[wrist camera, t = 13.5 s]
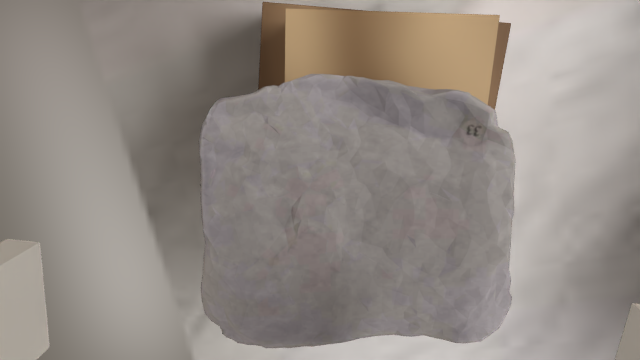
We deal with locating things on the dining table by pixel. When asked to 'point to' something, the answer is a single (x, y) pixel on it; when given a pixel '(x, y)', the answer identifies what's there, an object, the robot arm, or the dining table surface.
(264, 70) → the tower base block
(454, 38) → the tower top block
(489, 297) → the stone block
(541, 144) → the dining table surface
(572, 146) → the dining table surface
